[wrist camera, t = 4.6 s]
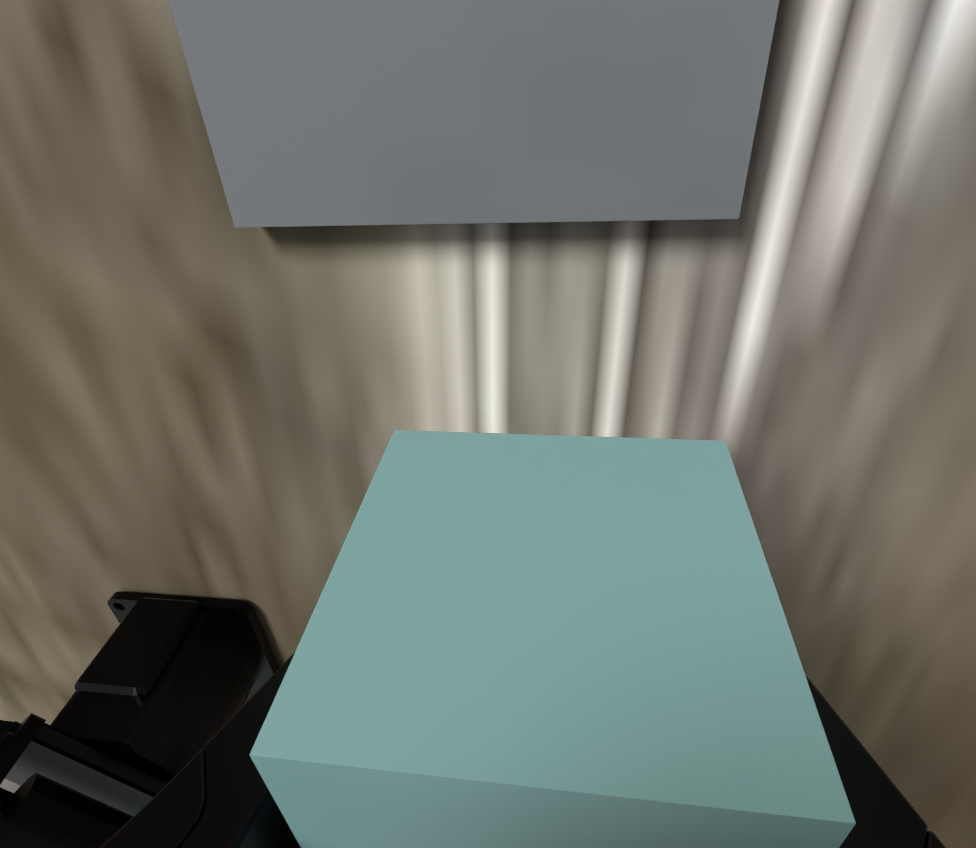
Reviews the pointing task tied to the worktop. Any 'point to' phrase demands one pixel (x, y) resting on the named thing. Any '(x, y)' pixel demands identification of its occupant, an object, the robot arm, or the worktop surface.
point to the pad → (478, 108)
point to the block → (551, 660)
